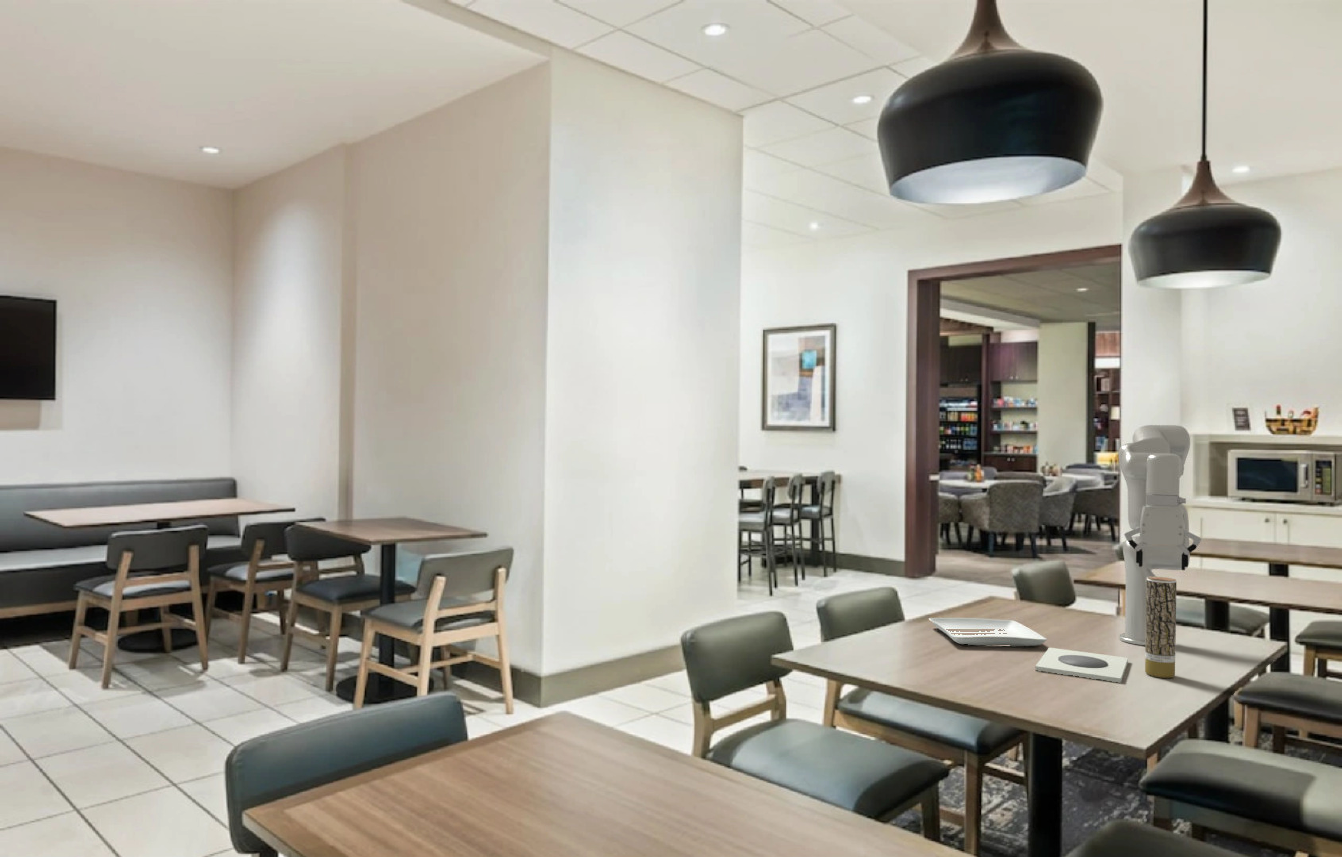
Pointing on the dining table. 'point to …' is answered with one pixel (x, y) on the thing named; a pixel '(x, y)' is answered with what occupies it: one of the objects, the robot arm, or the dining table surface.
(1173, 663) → the paper tube
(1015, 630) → the square plate
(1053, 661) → the seat board
